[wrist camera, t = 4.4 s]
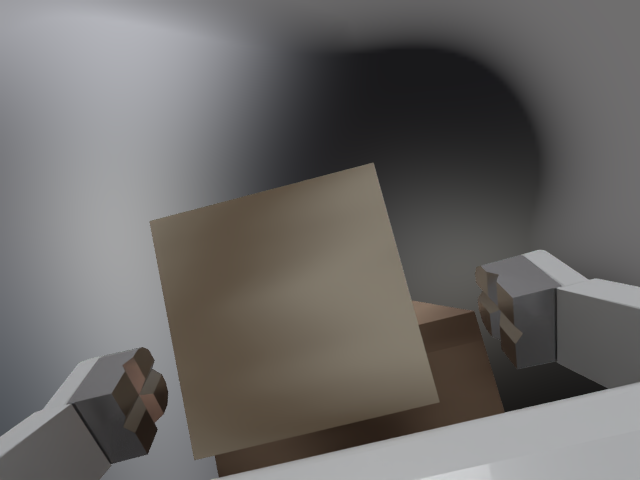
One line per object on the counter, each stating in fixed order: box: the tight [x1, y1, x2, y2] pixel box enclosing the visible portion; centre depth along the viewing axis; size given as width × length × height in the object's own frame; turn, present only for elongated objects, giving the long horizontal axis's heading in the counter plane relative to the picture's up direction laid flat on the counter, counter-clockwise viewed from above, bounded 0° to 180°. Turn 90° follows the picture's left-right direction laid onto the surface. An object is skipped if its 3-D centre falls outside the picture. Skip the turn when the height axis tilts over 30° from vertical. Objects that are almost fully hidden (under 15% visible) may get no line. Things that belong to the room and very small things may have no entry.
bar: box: [150, 163, 440, 460], centre depth 15 cm, size 4×19×4 cm, turn 176°
